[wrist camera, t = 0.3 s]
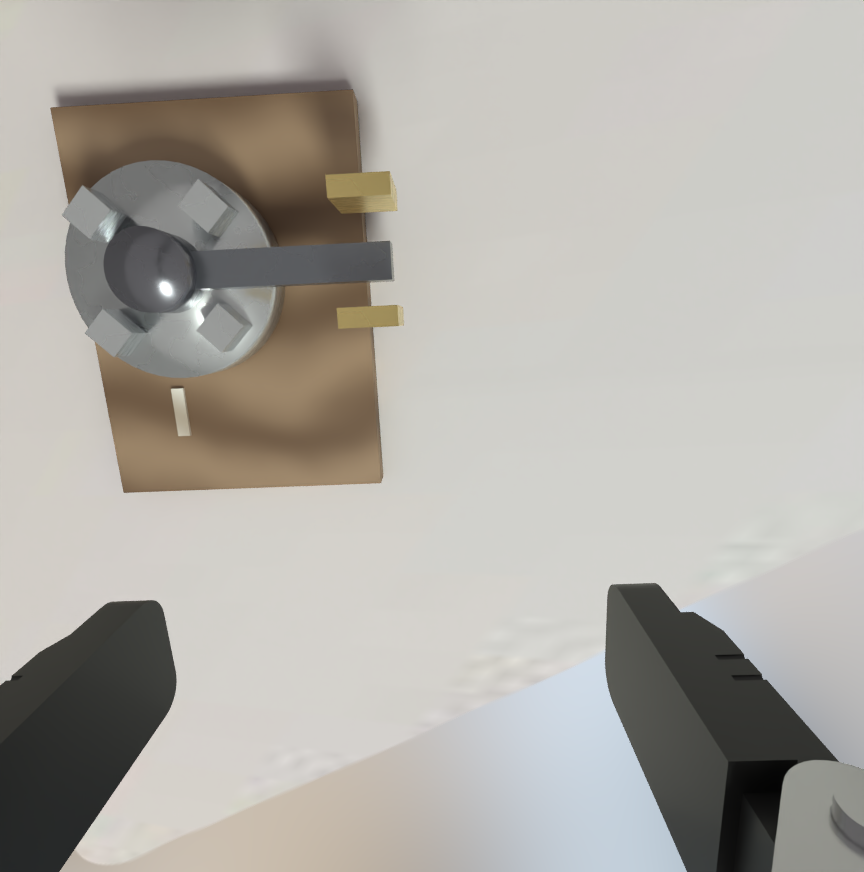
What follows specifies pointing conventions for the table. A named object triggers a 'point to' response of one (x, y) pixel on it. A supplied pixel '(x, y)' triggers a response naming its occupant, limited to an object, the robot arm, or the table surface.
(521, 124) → the table surface
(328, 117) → the base plate
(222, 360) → the silver rotary lever
